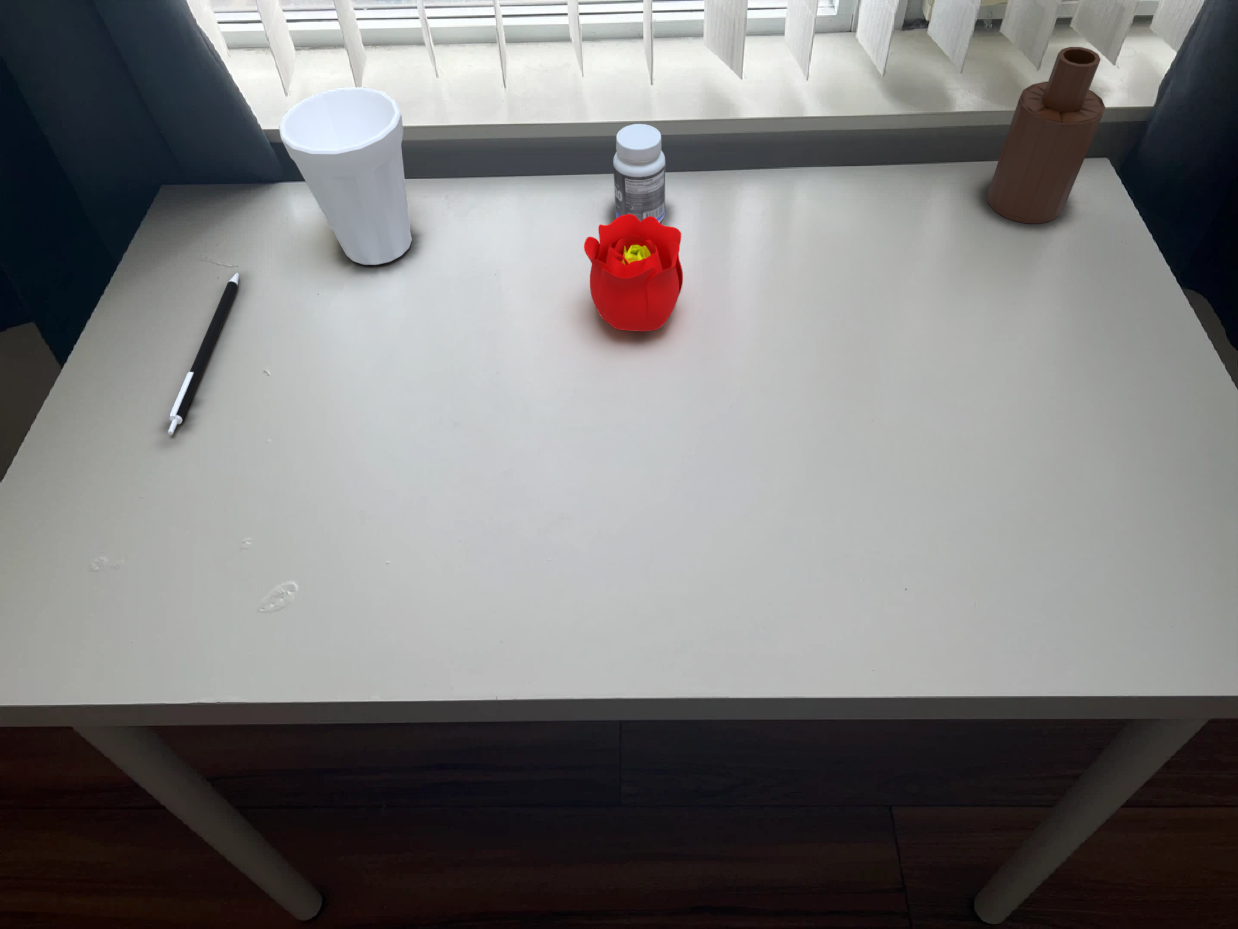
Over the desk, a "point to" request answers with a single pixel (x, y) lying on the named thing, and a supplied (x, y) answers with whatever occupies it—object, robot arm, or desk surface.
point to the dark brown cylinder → (1048, 140)
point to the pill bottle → (639, 172)
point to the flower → (635, 272)
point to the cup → (354, 168)
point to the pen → (202, 355)
